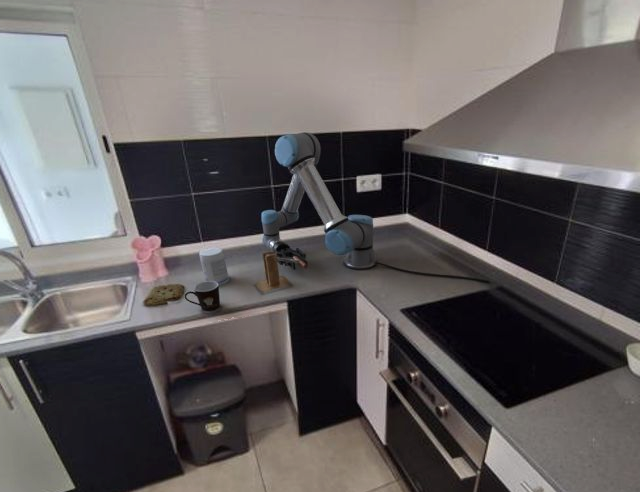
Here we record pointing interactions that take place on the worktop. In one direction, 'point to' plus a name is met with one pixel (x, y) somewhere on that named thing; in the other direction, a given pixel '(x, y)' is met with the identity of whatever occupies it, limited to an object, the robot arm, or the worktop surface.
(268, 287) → the bracket
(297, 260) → the lever
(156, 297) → the pastry
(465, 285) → the worktop surface
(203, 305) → the coffee mug
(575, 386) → the worktop surface
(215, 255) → the supplement tub
